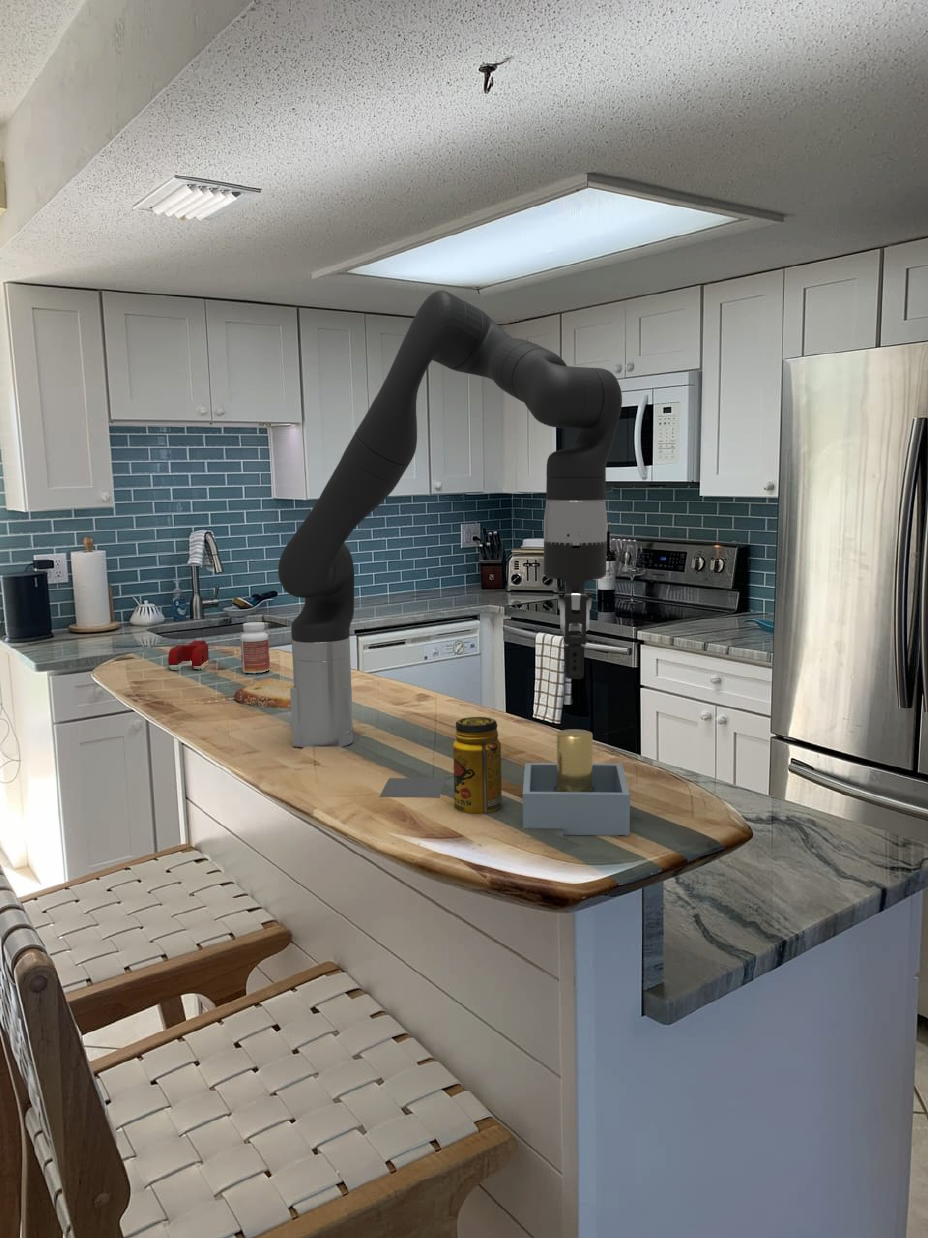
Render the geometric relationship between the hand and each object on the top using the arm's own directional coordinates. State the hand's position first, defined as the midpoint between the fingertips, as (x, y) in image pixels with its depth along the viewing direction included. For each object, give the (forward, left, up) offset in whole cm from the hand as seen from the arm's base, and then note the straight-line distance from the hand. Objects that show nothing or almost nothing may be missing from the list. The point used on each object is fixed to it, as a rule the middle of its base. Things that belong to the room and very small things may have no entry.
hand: (573, 670), depth 119 cm
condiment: (-11, +2, -19) cm, 22 cm away
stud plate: (-21, +9, -19) cm, 30 cm away
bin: (0, 0, -19) cm, 19 cm away
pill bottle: (-68, +92, -19) cm, 116 cm away
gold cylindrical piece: (0, 0, -18) cm, 18 cm away
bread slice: (-55, +65, -19) cm, 87 cm away
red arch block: (-86, +100, -19) cm, 134 cm away
